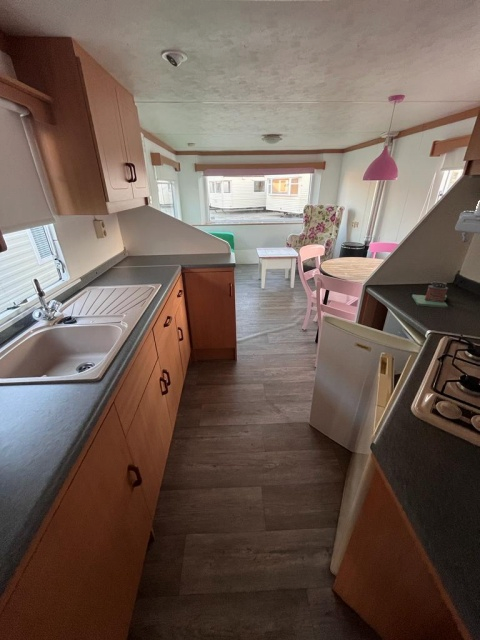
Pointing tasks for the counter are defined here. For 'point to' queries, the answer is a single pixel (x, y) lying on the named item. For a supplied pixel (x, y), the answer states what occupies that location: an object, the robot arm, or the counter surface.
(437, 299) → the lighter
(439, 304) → the scale
